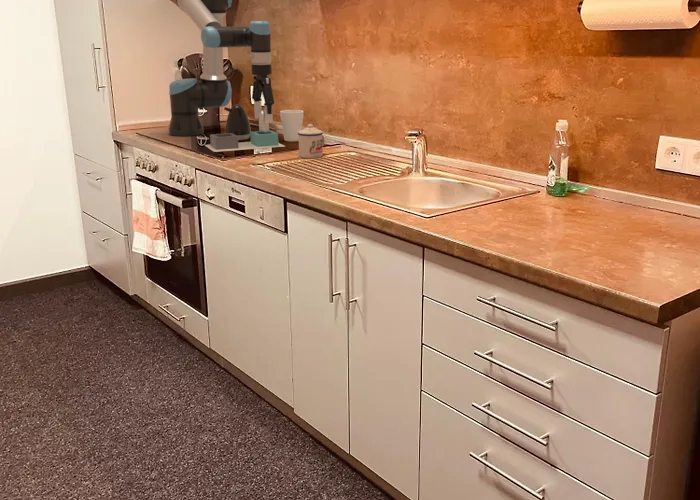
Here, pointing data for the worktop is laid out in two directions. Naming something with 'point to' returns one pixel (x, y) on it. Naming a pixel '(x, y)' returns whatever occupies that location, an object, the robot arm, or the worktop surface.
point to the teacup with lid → (310, 142)
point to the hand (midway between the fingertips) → (263, 120)
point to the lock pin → (262, 123)
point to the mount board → (231, 143)
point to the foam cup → (291, 124)
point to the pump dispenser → (238, 122)
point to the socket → (264, 139)
